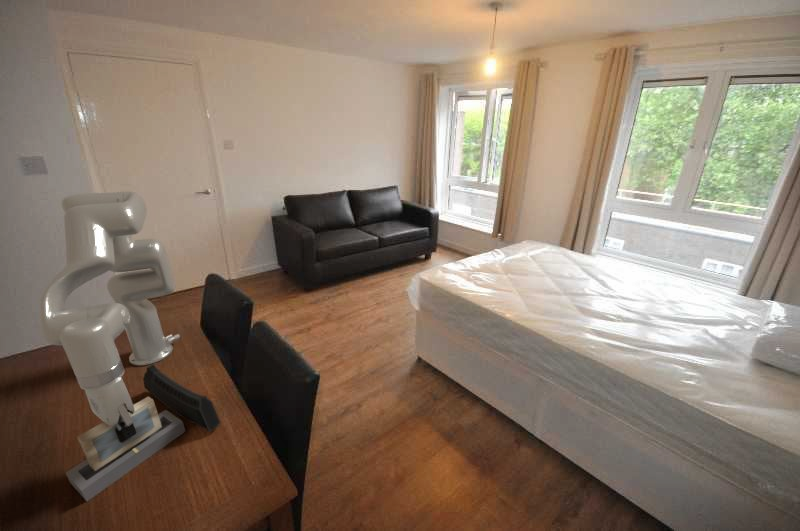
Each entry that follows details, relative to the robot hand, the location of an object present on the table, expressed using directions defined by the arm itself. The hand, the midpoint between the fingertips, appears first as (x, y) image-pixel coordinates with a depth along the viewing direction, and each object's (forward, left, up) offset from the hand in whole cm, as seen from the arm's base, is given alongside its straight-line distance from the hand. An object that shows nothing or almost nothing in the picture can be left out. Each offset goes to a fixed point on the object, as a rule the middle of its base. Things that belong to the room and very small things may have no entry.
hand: (124, 434), depth 79 cm
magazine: (-14, -4, -7) cm, 17 cm away
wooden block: (0, 0, -4) cm, 4 cm away
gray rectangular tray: (0, 0, -7) cm, 7 cm away
